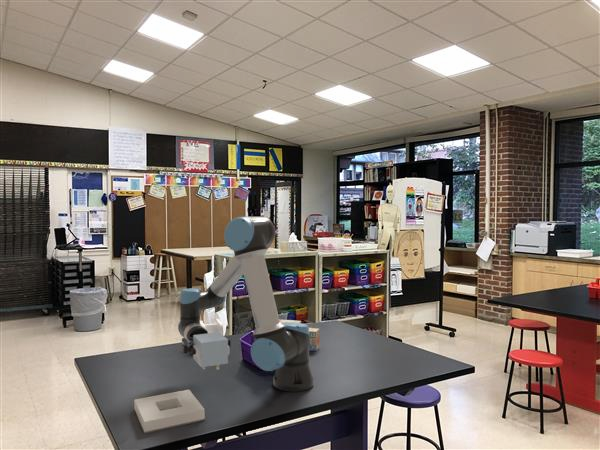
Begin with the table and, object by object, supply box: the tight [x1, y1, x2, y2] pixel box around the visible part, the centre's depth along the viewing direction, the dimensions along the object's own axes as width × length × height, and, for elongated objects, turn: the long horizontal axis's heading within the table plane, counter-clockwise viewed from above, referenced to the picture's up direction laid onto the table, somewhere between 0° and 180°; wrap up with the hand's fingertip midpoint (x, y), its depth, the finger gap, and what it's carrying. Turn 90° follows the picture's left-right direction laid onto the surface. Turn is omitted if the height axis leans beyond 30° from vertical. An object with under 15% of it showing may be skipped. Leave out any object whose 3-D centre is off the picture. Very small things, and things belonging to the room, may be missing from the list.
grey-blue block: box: [192, 332, 229, 371], centre depth 155 cm, size 10×9×10 cm
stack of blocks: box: [279, 318, 320, 352], centre depth 220 cm, size 21×6×12 cm, turn 72°
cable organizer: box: [200, 318, 224, 336], centre depth 221 cm, size 15×11×12 cm
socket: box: [134, 389, 206, 434], centre depth 147 cm, size 18×18×4 cm
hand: (214, 352), depth 151 cm, fingers closed on grey-blue block, 9 cm apart
